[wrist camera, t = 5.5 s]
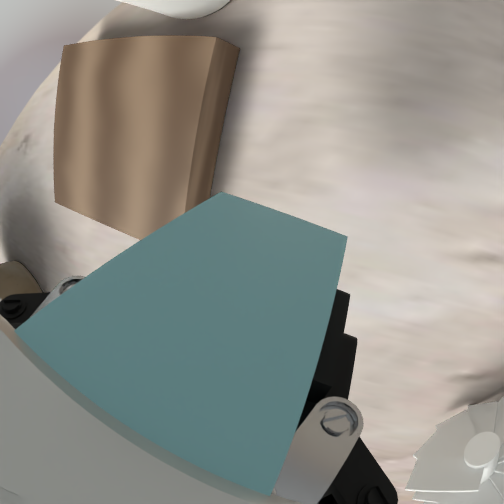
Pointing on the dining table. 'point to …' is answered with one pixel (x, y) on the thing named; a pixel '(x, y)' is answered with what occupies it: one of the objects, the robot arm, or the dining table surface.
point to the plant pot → (16, 280)
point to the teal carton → (203, 334)
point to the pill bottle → (180, 7)
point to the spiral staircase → (463, 459)
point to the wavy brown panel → (140, 127)
